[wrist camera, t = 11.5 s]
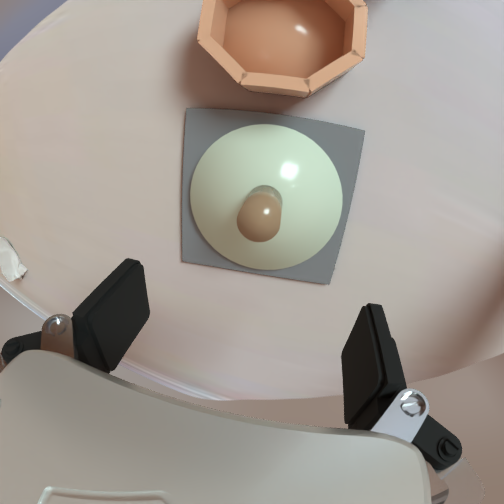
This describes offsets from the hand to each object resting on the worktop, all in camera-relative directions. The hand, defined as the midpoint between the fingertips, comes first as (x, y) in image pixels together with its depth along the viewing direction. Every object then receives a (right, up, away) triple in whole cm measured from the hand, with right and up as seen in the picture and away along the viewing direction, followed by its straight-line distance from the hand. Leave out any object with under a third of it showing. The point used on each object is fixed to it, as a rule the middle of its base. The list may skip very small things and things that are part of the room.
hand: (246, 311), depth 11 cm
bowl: (+3, +22, +7) cm, 23 cm away
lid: (+2, +7, +14) cm, 16 cm away
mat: (+2, +7, +15) cm, 16 cm away
